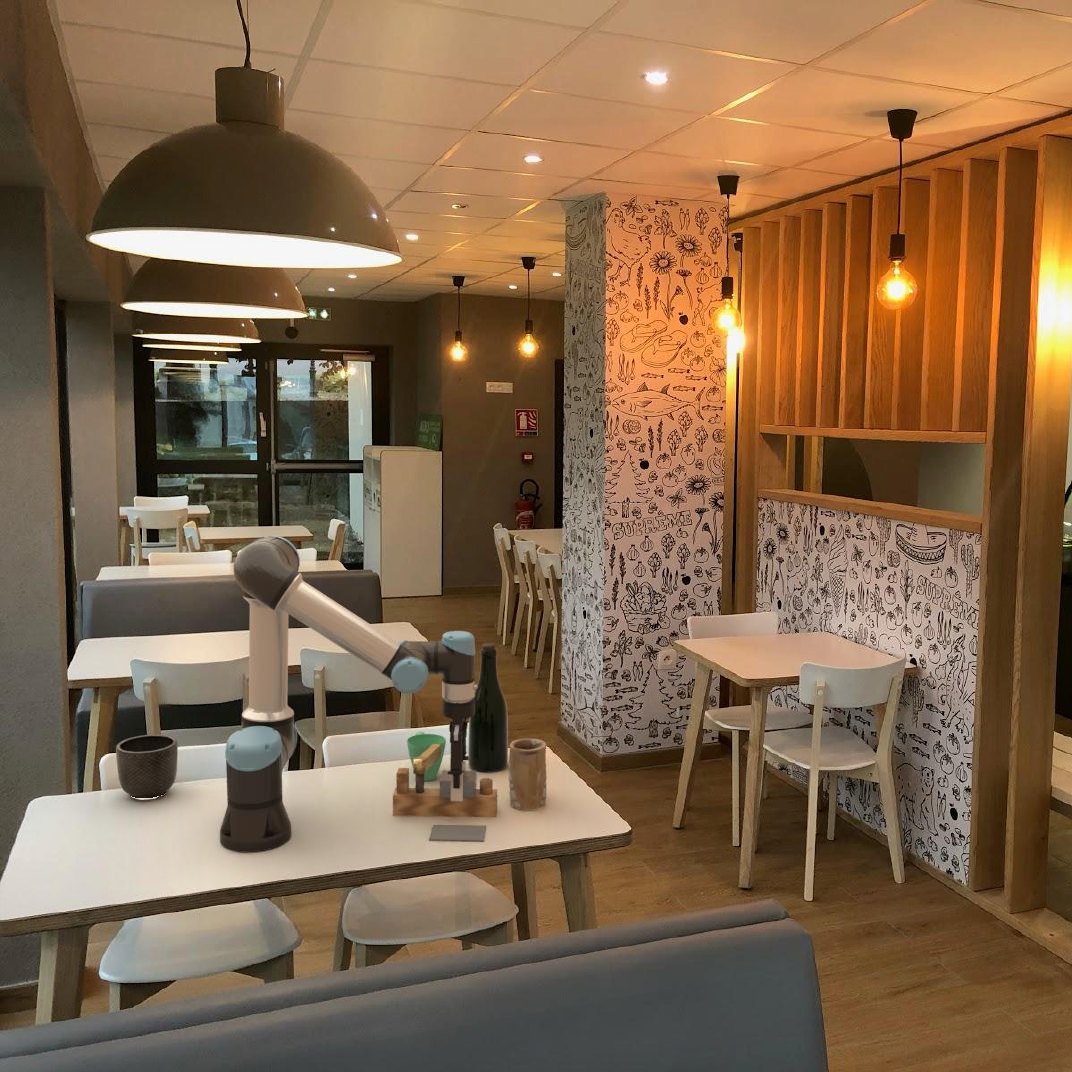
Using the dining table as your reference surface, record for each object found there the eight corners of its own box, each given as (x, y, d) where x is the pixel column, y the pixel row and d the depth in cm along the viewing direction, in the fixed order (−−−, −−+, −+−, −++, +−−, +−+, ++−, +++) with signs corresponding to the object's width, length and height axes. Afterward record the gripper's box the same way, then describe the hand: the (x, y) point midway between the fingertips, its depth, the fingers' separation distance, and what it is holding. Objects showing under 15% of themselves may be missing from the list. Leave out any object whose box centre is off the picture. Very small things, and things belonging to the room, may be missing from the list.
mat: (428, 840, 226) (428, 839, 226) (433, 826, 234) (433, 824, 234) (483, 841, 226) (483, 840, 226) (486, 827, 234) (486, 825, 234)
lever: (423, 775, 239) (423, 761, 239) (411, 774, 240) (411, 760, 239) (442, 756, 252) (442, 743, 252) (431, 755, 253) (431, 742, 252)
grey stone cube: (439, 797, 238) (439, 780, 237) (442, 786, 245) (442, 770, 244) (474, 798, 238) (474, 781, 237) (476, 787, 245) (476, 770, 244)
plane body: (392, 815, 240) (392, 774, 239) (395, 807, 244) (395, 767, 243) (496, 817, 240) (496, 775, 238) (497, 809, 244) (497, 768, 243)
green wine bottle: (467, 773, 268) (468, 648, 264) (468, 759, 279) (469, 639, 275) (507, 773, 269) (509, 648, 265) (507, 759, 279) (508, 639, 275)
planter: (143, 810, 241) (141, 756, 240) (105, 797, 249) (103, 745, 247) (191, 791, 253) (189, 740, 252) (153, 780, 261) (152, 730, 259)
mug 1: (449, 782, 262) (449, 744, 260) (411, 786, 259) (411, 747, 257) (436, 763, 275) (436, 726, 274) (400, 766, 272) (400, 730, 271)
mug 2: (520, 813, 242) (521, 751, 240) (494, 795, 253) (494, 736, 251) (553, 806, 247) (554, 745, 245) (525, 789, 257) (526, 730, 256)
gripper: (471, 711, 229) (471, 811, 231) (477, 687, 248) (477, 779, 251) (437, 711, 229) (437, 810, 232) (446, 686, 249) (446, 778, 251)
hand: (458, 794), depth 241 cm, fingers closed on grey stone cube, 7 cm apart
